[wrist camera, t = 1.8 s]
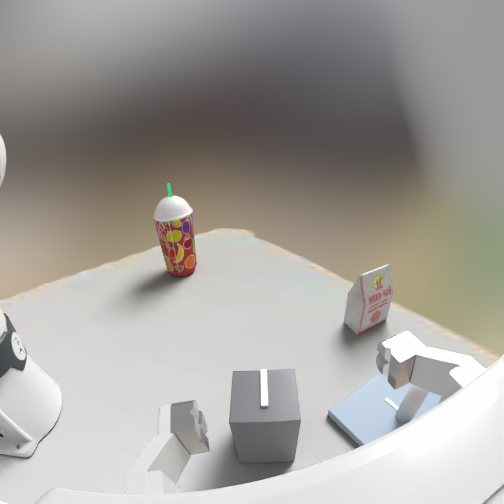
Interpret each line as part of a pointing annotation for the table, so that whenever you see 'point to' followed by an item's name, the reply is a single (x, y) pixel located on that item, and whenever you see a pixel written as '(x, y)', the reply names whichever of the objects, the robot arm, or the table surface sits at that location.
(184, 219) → the smoothie
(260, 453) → the tall gray block
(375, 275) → the white paper bag
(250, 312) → the table surface
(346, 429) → the panel
